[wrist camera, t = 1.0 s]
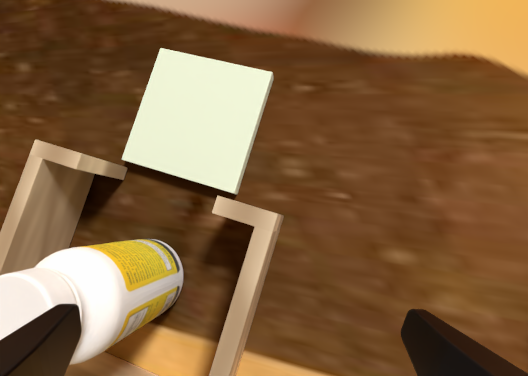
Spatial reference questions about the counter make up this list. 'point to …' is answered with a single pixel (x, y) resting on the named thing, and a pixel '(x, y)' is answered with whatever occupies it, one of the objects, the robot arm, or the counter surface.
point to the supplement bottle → (96, 290)
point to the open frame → (64, 224)
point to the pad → (199, 119)
